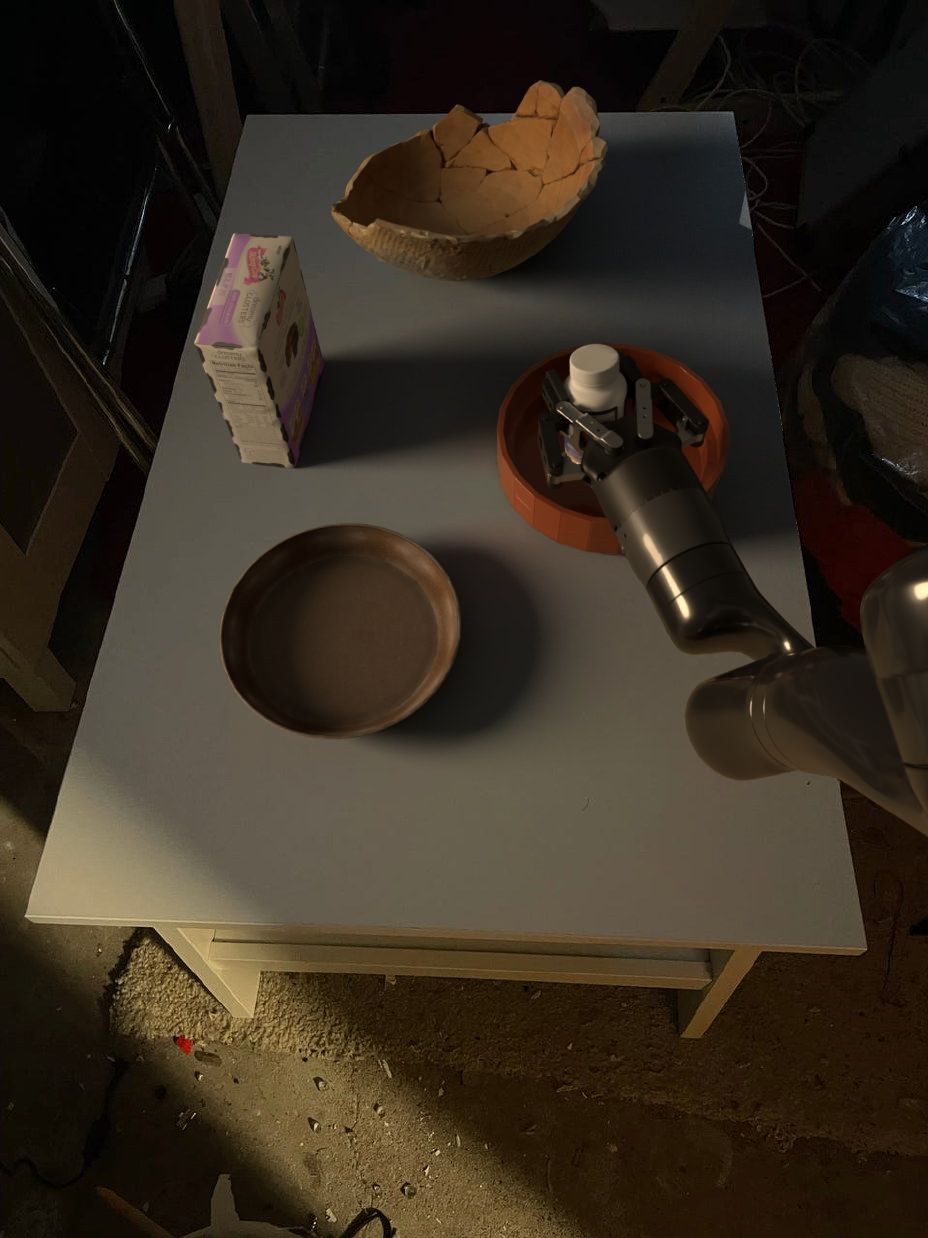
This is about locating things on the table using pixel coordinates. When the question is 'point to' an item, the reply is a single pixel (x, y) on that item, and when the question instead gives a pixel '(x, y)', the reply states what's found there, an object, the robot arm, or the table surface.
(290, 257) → the candy box
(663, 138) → the table surface
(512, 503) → the bowl
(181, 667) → the table surface
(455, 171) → the ceramic bowl
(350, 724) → the plant saucer
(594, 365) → the pill bottle
